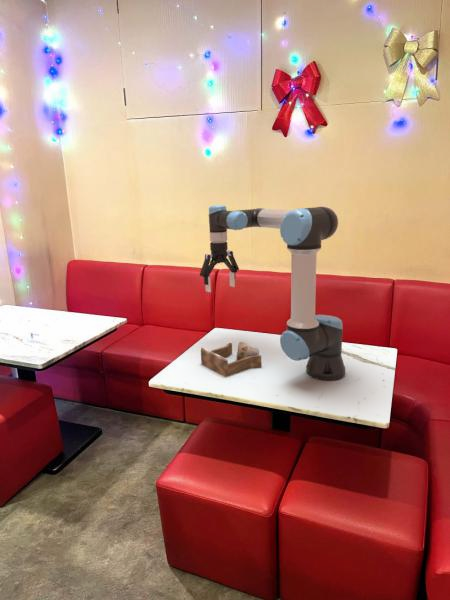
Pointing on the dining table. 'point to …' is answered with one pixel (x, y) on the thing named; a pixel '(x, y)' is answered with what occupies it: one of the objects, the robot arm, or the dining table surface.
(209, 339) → the dining table surface
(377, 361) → the dining table surface
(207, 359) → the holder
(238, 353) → the mottled brown rock
